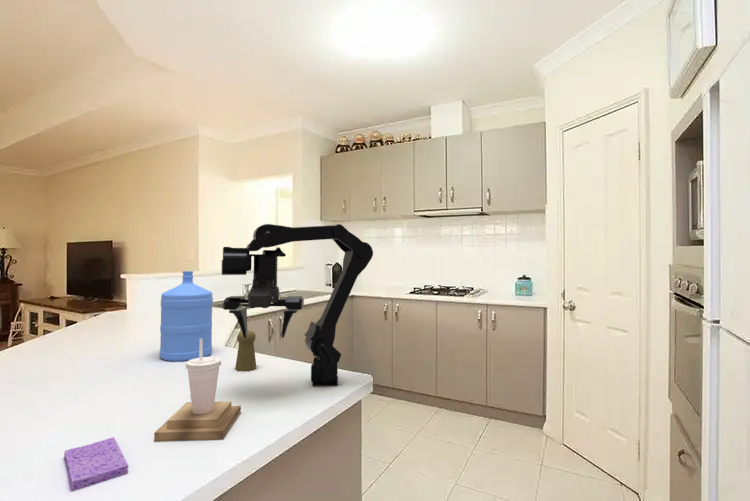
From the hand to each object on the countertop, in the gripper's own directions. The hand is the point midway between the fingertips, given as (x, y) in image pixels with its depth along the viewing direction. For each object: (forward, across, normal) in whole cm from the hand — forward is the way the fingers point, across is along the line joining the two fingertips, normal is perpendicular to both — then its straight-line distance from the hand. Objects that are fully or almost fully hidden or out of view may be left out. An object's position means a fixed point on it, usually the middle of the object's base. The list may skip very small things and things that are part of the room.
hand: (264, 337), depth 97 cm
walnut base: (+13, -8, -20) cm, 25 cm away
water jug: (+13, -32, +35) cm, 50 cm away
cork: (+13, -9, +19) cm, 25 cm away
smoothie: (+10, -8, -20) cm, 24 cm away
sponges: (+14, -20, -33) cm, 41 cm away
